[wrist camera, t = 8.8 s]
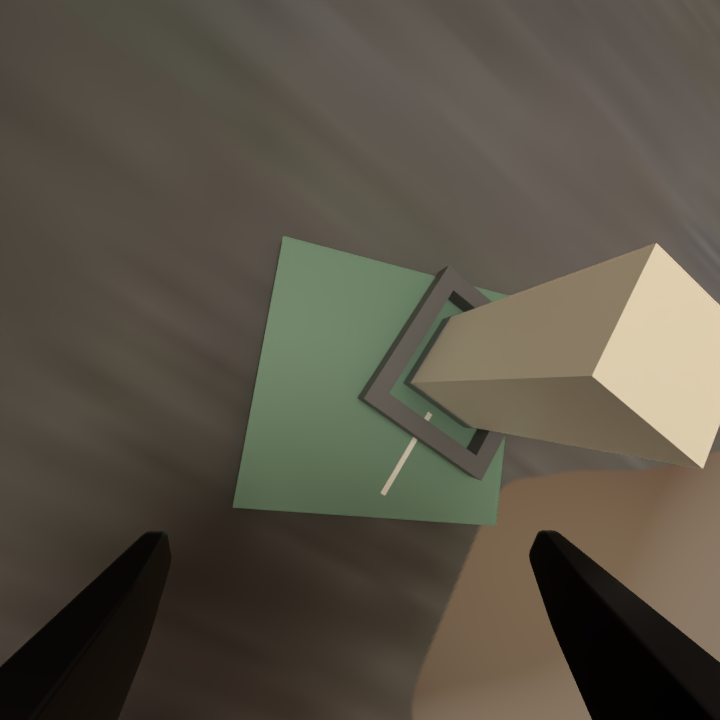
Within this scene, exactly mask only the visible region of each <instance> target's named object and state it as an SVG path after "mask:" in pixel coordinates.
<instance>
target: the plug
mask: <svg viewBox="0 0 720 720" xmlns="http://www.w3.org/2000/svg"><path fill="white" fill-rule="evenodd" d="M403 383H404V384H405V385H406V386H408V387H409V388H411V389H412V390H413V391H415V392H416V393H417V394H419V395H420V396H422V397H423V398H424V399H426V400H427V401H428V402H430V403H431V404H433V405H434V406H435V407H437V408H438V409H439V410H441V411H442V412H444V413H445V414H446V415H448V416H449V417H450V418H452V419H453V420H455V421H456V422H457V423H459V424H460V425H461V426H463V427H466V428H471V429H474V428H478V429H483V430H489V431H494V432H500V433H506V434H511V435H517V436H522V437H528V438H533V439H539V440H545V441H550V442H556V443H561V444H567V445H572V446H578V447H584V448H589V449H595V450H600V451H606V452H611V453H617V454H623V455H628V456H634V457H639V458H645V459H650V460H656V461H662V462H667V463H673V464H678V465H684V466H689V467H696V468H701V469H703V467H704V465H705V462H706V459H707V457H708V454H709V451H710V449H711V446H712V444H713V441H714V438H715V436H716V433H717V430H718V428H719V425H720V305H719V304H718V303H717V302H716V301H715V300H714V299H713V298H712V297H711V296H710V295H709V294H708V293H707V292H706V291H705V290H704V289H703V288H702V287H700V286H699V285H698V284H697V283H696V282H695V281H694V280H693V279H692V278H691V277H690V276H689V275H688V274H687V273H686V272H685V271H684V270H683V269H682V268H681V267H680V266H679V265H678V264H677V263H676V262H675V261H674V260H673V259H672V258H671V257H670V256H669V255H668V254H667V253H666V252H665V251H664V250H663V249H662V248H661V247H660V246H659V245H658V244H657V243H655V244H652V245H649V246H646V247H644V248H641V249H638V250H635V251H633V252H630V253H627V254H624V255H621V256H619V257H616V258H613V259H610V260H608V261H605V262H602V263H599V264H597V265H594V266H591V267H588V268H585V269H583V270H580V271H577V272H574V273H572V274H569V275H566V276H563V277H561V278H558V279H555V280H552V281H550V282H547V283H544V284H541V285H538V286H536V287H533V288H530V289H527V290H525V291H522V292H519V293H516V294H514V295H511V296H508V297H505V298H503V299H500V300H497V301H494V302H491V303H489V304H486V305H483V306H480V307H478V308H475V309H472V310H469V311H467V312H464V313H461V314H458V315H455V316H449V317H446V318H444V319H442V321H441V323H440V324H439V326H438V327H437V329H436V331H435V332H434V334H433V336H432V337H431V339H430V340H429V342H428V344H427V345H426V347H425V348H424V350H423V352H422V353H421V355H420V357H419V358H418V360H417V361H416V363H415V365H414V366H413V368H412V370H411V371H410V373H409V374H408V376H407V378H406V379H405V381H404V382H403Z"/></svg>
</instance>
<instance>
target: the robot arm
mask: <svg viewBox="0 0 720 720" xmlns="http://www.w3.org/2000/svg"><path fill="white" fill-rule="evenodd" d="M529 557H530V563H531V566H532V569H533V572H534V575H535V578H536V581H537V584H538V586H539V590H540V593H541V596H542V598H543V602H544V605H545V607H546V611H547V613H548V617H549V620H550V622H551V625H552V628H553V630H554V632H555V635H556V637H557V640H558V642H559V645H560V647H561V649H562V651H563V654H564V656H565V658H566V661H567V663H568V665H569V668H570V670H571V672H572V675H573V677H574V679H575V681H576V684H577V686H578V688H579V691H580V693H581V695H582V698H583V700H584V702H585V705H586V706H587V709H588V711H589V714H590V716H591V718H592V720H720V662H719V661H717V660H716V659H715V658H714V657H712V656H711V655H710V654H709V653H707V652H706V651H705V650H704V649H702V648H701V647H700V646H699V645H697V644H696V643H695V642H694V641H692V640H691V639H690V638H689V637H688V636H686V635H685V634H684V633H682V632H681V631H680V630H679V629H678V628H676V627H675V626H674V625H673V624H671V623H670V622H669V621H668V620H666V619H665V618H664V617H663V616H661V615H660V614H659V613H658V612H656V611H655V610H654V609H653V608H652V607H650V606H649V605H648V604H647V603H645V602H644V601H643V600H642V599H640V598H639V597H638V596H637V595H635V594H634V593H633V592H632V591H630V590H629V589H628V588H627V587H625V586H624V585H623V584H622V583H620V582H619V581H618V580H617V579H616V578H614V577H613V576H612V575H610V574H609V573H608V572H607V571H606V570H604V569H603V568H602V567H601V566H599V565H598V564H597V563H596V562H595V561H593V560H592V559H591V558H590V557H588V556H587V555H586V554H585V553H583V552H582V551H581V550H580V549H578V548H577V547H576V546H575V545H573V544H572V543H571V542H570V541H568V540H567V539H566V538H565V537H563V536H562V535H561V534H560V533H558V532H556V531H552V530H551V531H550V530H549V531H545V530H542V531H540V532H538V534H537V536H536V538H535V540H534V543H533V545H532V547H531V549H530V553H529ZM170 563H171V552H170V546H169V541H168V536H167V534H166V532H163V531H150V532H146V533H145V534H143V535H142V536H141V537H140V538H139V539H138V540H137V541H136V542H134V543H133V544H132V545H131V546H130V547H129V548H128V549H127V550H126V551H125V552H124V553H123V554H122V555H120V556H119V557H118V558H117V559H116V560H115V561H114V562H113V563H112V564H111V565H110V566H109V567H108V568H106V569H105V570H104V571H103V572H102V573H101V574H100V575H99V576H98V577H97V578H96V579H95V580H94V581H92V582H91V583H90V584H89V585H88V586H87V587H86V588H85V589H84V590H83V591H82V592H81V593H79V594H78V595H77V596H76V597H75V598H74V599H73V600H72V601H71V602H70V603H69V604H68V605H67V606H65V607H64V608H63V609H62V610H61V611H60V612H59V613H58V614H57V615H56V616H55V617H54V618H53V619H51V620H50V621H49V622H48V623H47V624H46V625H45V626H44V627H43V628H42V629H41V630H40V631H38V632H37V633H36V634H35V635H34V636H33V637H32V638H31V639H30V640H29V641H28V642H27V643H26V644H24V645H23V646H22V647H21V648H20V649H19V650H18V651H17V652H16V653H15V654H14V655H13V656H12V657H10V658H9V659H8V660H7V661H6V662H5V663H4V664H3V665H2V666H1V667H0V720H118V717H119V715H120V712H121V710H122V707H123V705H124V702H125V700H126V697H127V694H128V692H129V689H130V687H131V684H132V682H133V679H134V677H135V674H136V672H137V669H138V667H139V664H140V662H141V659H142V656H143V654H144V651H145V648H146V646H147V643H148V640H149V637H150V633H151V630H152V627H153V623H154V620H155V616H156V613H157V609H158V606H159V602H160V599H161V596H162V592H163V589H164V585H165V582H166V578H167V575H168V571H169V568H170Z"/></svg>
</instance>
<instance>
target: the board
mask: <svg viewBox="0 0 720 720" xmlns="http://www.w3.org/2000/svg"><path fill="white" fill-rule="evenodd" d="M505 297H508V295H504V294H500V293H496V292H493V291H489V290H485V289H481V288H478V287H474V286H473V285H472V284H470V283H469V282H468V281H467V280H465V279H464V278H463V277H462V276H461V275H459V274H458V273H457V272H456V271H455V270H453V269H452V268H451V267H450V266H447V267H446V268H444V269H443V270H441V271H439V272H438V274H437V275H436V276H432V275H429V274H425V273H421V272H417V271H414V270H410V269H406V268H402V267H398V266H395V265H391V264H387V263H383V262H380V261H376V260H372V259H368V258H365V257H361V256H357V255H353V254H349V253H346V252H342V251H338V250H334V249H331V248H327V247H323V246H319V245H316V244H312V243H308V242H304V241H300V240H297V239H293V238H289V237H285V236H283V240H282V245H281V250H280V256H279V261H278V266H277V272H276V277H275V283H274V288H273V293H272V299H271V304H270V309H269V315H268V320H267V325H266V331H265V336H264V341H263V347H262V352H261V357H260V363H259V368H258V373H257V379H256V384H255V389H254V395H253V400H252V406H251V411H250V416H249V422H248V427H247V432H246V438H245V443H244V448H243V454H242V459H241V464H240V470H239V475H238V480H237V486H236V491H235V496H234V502H233V507H232V508H245V509H259V510H274V511H288V512H303V513H317V514H331V515H346V516H360V517H375V518H389V519H403V520H418V521H432V522H447V523H461V524H475V525H490V526H496V521H497V511H498V501H499V492H500V482H501V472H502V463H503V453H504V443H505V435H506V433H500V432H494V431H489V430H483V429H478V428H474V429H471V428H466V427H463V426H461V425H460V424H459V423H457V422H456V421H455V420H453V419H452V418H450V417H449V416H448V415H446V414H445V413H444V412H442V411H441V410H439V409H438V408H437V407H435V406H434V405H433V404H431V403H430V402H428V401H427V400H426V399H424V398H423V397H422V396H420V395H419V394H417V393H416V392H415V391H413V390H412V389H411V388H409V387H408V386H406V385H405V384H404V383H403V382H404V381H405V379H406V378H407V376H408V374H409V373H410V371H411V370H412V368H413V366H414V365H415V363H416V361H417V360H418V358H419V357H420V355H421V353H422V352H423V350H424V348H425V347H426V345H427V344H428V342H429V340H430V339H431V337H432V336H433V334H434V332H435V331H436V329H437V327H438V326H439V324H440V323H441V321H442V319H444V318H446V317H449V316H455V315H458V314H461V313H464V312H467V311H469V310H472V309H475V308H478V307H480V306H483V305H486V304H489V303H491V302H494V301H497V300H500V299H503V298H505Z"/></svg>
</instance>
